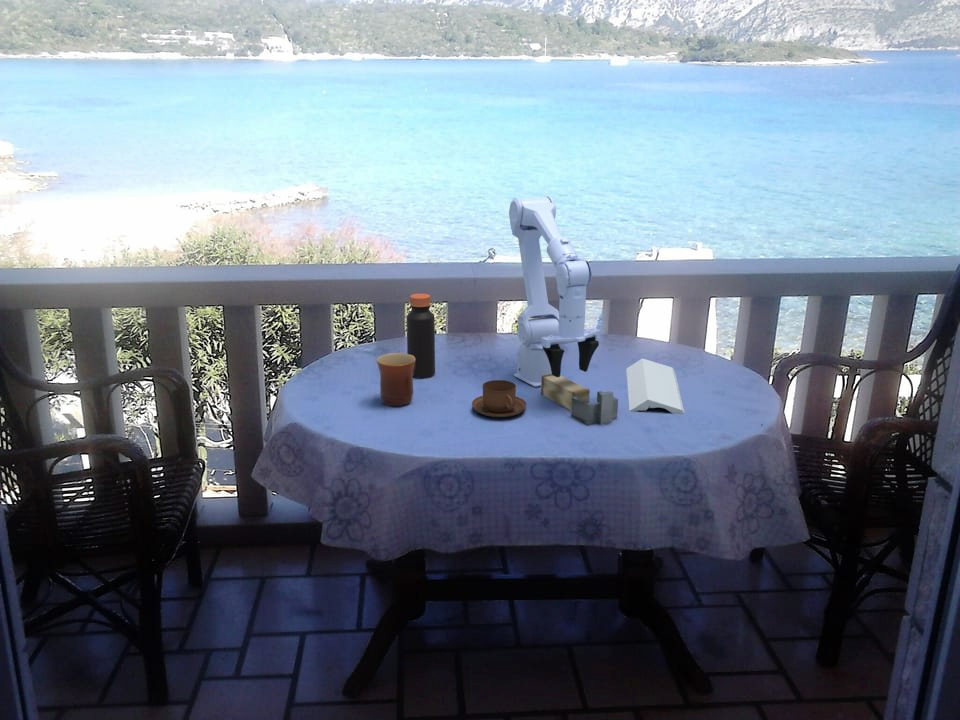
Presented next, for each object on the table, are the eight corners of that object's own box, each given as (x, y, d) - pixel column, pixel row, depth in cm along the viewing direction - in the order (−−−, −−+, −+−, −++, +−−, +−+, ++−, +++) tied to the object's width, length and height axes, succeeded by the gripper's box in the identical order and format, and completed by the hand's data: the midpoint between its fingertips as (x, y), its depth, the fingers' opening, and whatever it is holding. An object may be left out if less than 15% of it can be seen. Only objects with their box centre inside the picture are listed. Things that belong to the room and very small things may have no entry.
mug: (403, 411, 196) (402, 367, 193) (370, 404, 200) (368, 361, 196) (430, 394, 206) (429, 352, 203) (397, 388, 210) (396, 347, 207)
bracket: (571, 416, 194) (572, 386, 192) (600, 409, 198) (601, 380, 196) (591, 427, 188) (592, 397, 186) (620, 420, 192) (622, 390, 190)
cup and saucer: (537, 411, 197) (537, 385, 195) (499, 426, 189) (500, 399, 187) (498, 397, 205) (498, 372, 203) (460, 411, 197) (460, 385, 195)
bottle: (436, 369, 222) (435, 292, 216) (434, 379, 216) (433, 299, 210) (409, 369, 223) (407, 292, 216) (406, 378, 216) (404, 299, 210)
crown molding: (684, 416, 196) (686, 401, 195) (629, 413, 197) (629, 398, 196) (673, 373, 223) (674, 359, 222) (624, 371, 225) (625, 357, 224)
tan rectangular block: (540, 394, 207) (541, 375, 205) (555, 391, 209) (555, 372, 207) (574, 412, 196) (574, 392, 195) (588, 408, 198) (589, 389, 197)
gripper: (555, 323, 188) (553, 383, 192) (609, 314, 195) (606, 372, 199) (536, 315, 194) (535, 374, 198) (589, 307, 201) (587, 364, 205)
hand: (569, 373), depth 199 cm, fingers open, 7 cm apart
